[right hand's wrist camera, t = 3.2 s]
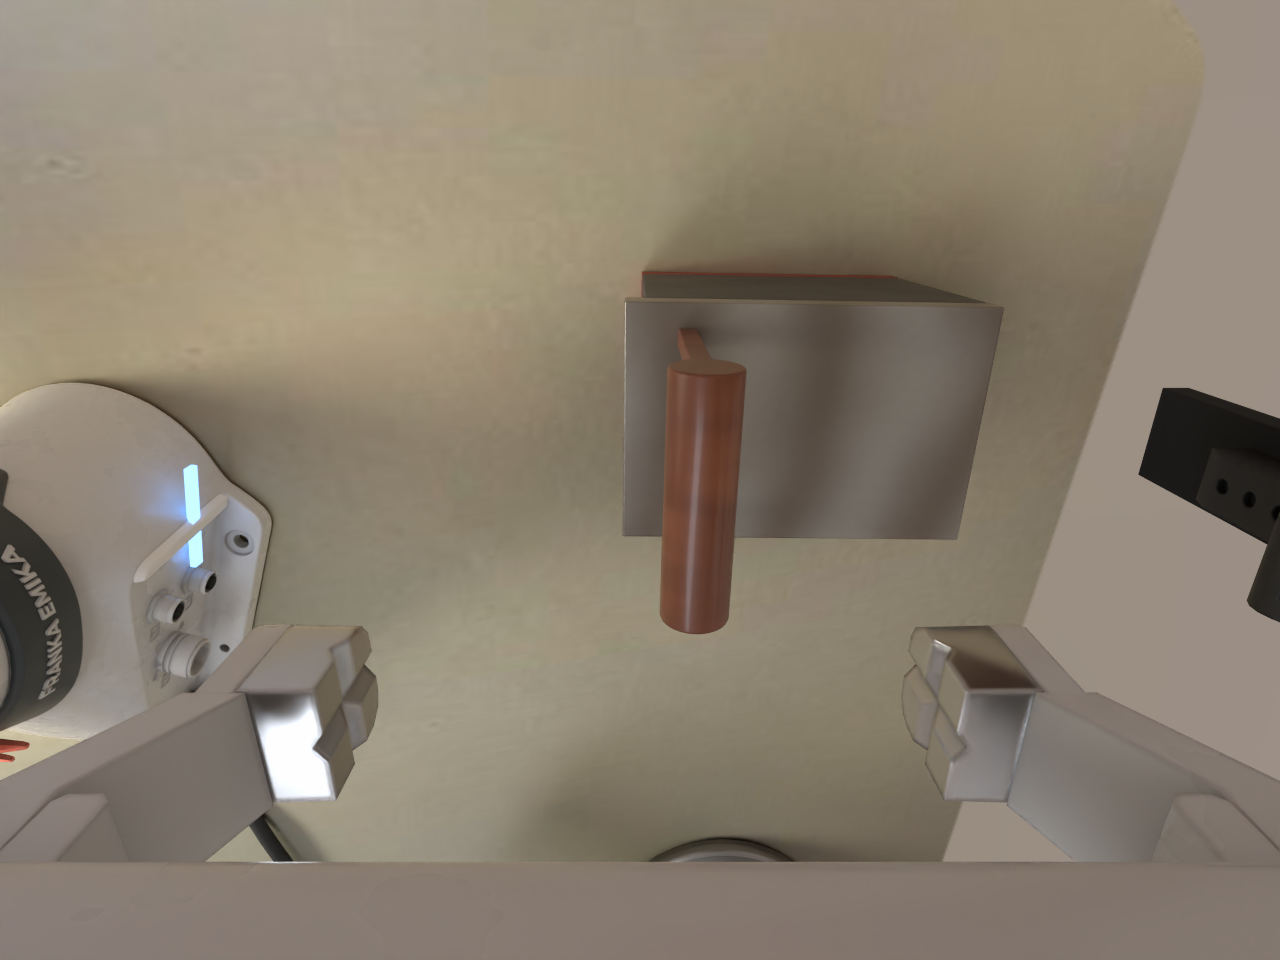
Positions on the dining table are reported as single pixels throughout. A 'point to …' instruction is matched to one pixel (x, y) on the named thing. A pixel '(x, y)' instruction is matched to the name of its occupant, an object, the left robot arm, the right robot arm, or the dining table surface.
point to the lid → (794, 428)
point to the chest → (791, 287)
